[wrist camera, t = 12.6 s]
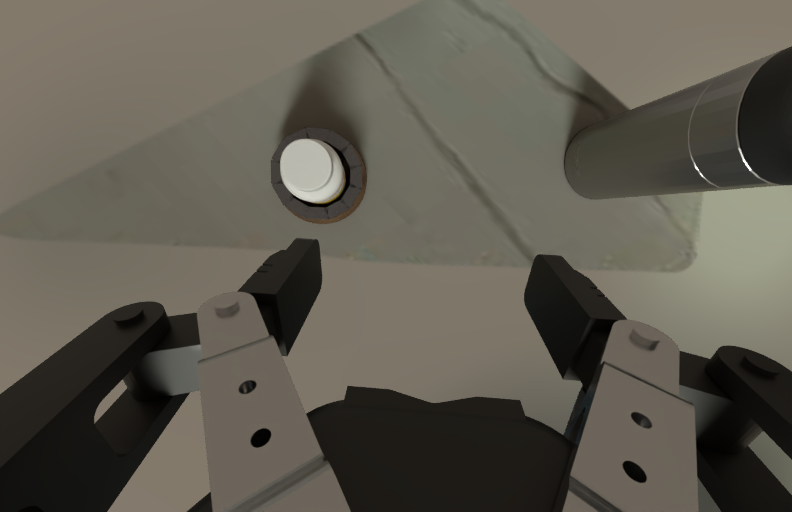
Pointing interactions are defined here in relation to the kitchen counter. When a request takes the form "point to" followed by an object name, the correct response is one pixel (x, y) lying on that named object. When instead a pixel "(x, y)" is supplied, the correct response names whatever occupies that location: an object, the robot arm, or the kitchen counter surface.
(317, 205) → the collar mount
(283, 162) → the supplement bottle
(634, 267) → the kitchen counter surface
